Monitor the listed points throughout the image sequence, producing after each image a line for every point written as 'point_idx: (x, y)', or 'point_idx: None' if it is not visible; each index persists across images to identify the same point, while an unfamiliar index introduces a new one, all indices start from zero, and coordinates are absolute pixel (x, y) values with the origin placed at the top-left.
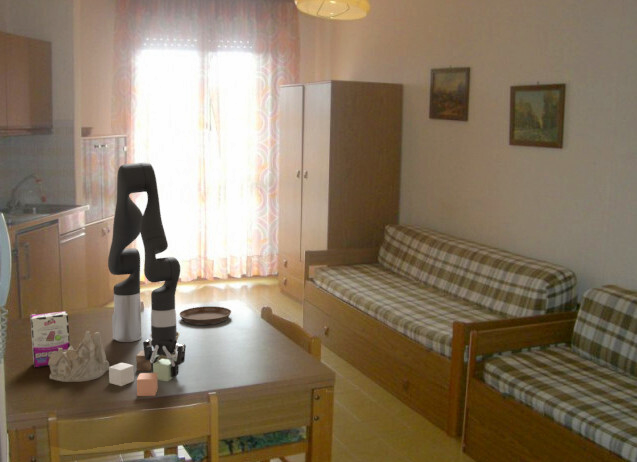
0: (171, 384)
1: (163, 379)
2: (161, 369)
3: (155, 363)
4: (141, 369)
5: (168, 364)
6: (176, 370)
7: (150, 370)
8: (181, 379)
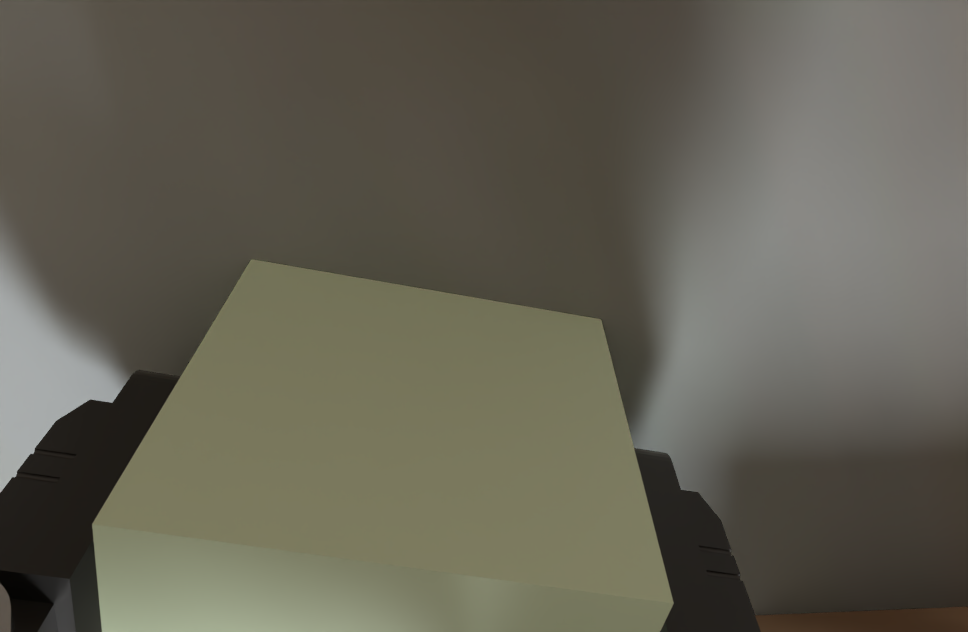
0: (51, 103)
1: (348, 291)
2: (359, 445)
3: (594, 624)
4: (943, 624)
5: (130, 619)
6: (7, 506)
7: (776, 621)
8: (40, 393)
